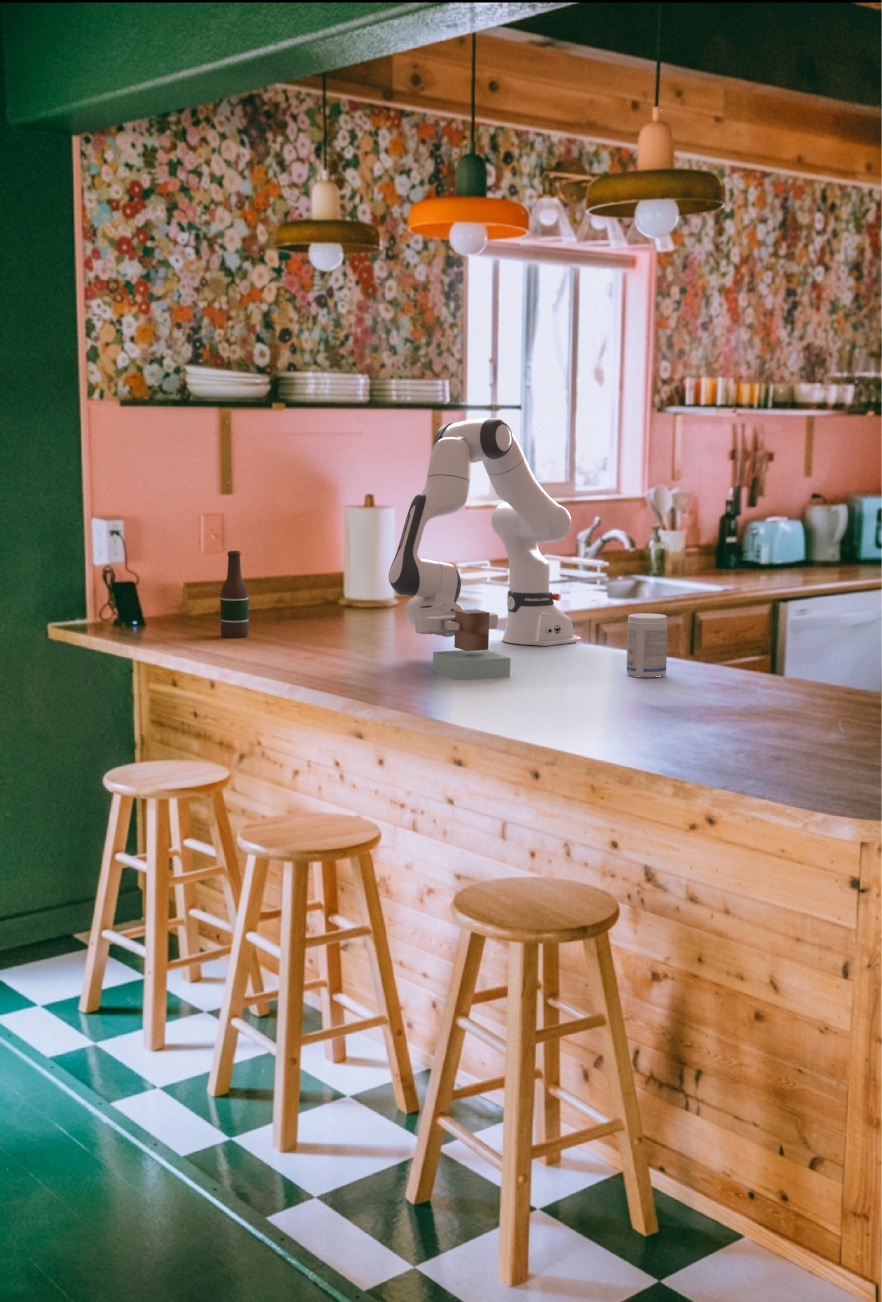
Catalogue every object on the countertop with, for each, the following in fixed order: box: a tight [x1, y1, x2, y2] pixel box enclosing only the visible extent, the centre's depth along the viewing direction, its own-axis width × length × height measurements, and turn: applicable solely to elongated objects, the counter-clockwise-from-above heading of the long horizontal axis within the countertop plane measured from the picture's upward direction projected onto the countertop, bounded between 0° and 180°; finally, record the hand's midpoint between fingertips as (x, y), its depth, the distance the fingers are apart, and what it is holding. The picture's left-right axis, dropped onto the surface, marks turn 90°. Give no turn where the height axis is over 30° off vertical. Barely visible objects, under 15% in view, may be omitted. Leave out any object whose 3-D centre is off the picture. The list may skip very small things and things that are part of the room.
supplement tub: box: [626, 612, 668, 677], centre depth 321 cm, size 10×10×15 cm
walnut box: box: [453, 608, 490, 651], centre depth 319 cm, size 6×6×9 cm
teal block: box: [432, 649, 512, 681], centre depth 321 cm, size 14×14×5 cm
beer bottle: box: [219, 550, 250, 639], centre depth 372 cm, size 8×8×24 cm
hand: (473, 626), depth 318 cm, fingers closed on walnut box, 6 cm apart
